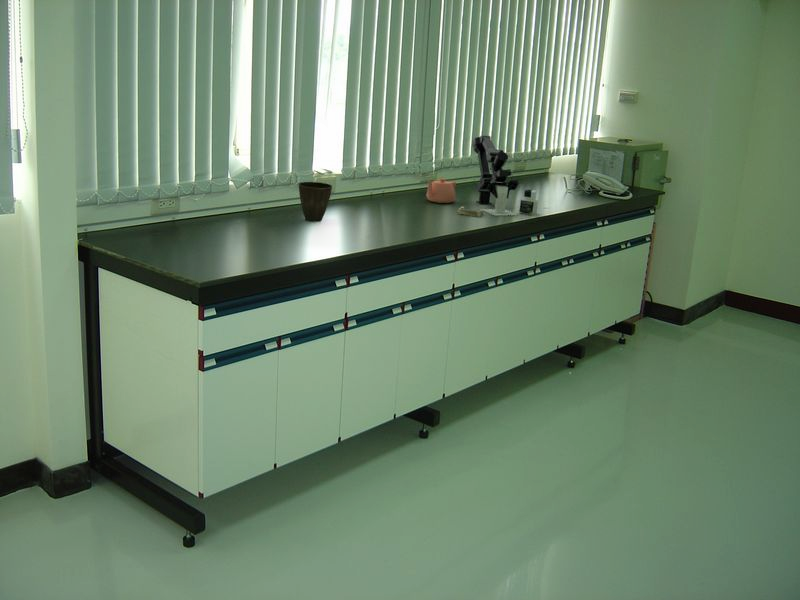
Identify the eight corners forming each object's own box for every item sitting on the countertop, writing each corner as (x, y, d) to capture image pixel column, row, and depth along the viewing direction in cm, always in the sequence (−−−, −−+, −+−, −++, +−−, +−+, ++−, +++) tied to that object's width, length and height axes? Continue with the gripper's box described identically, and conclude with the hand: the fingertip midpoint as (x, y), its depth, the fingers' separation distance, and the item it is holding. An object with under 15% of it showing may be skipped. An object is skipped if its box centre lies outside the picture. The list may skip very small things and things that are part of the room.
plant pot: (328, 217, 391) (330, 182, 386) (331, 224, 377) (333, 188, 372) (296, 215, 388) (297, 181, 384) (298, 223, 374) (299, 187, 370)
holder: (461, 211, 428) (461, 206, 428) (482, 214, 426) (483, 209, 425) (457, 214, 421) (458, 209, 420) (479, 216, 418) (479, 211, 418)
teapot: (434, 205, 438) (436, 182, 435) (414, 200, 449) (416, 177, 445) (464, 202, 453) (466, 179, 449) (443, 197, 463) (445, 175, 460)
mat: (481, 210, 436) (481, 209, 435) (505, 210, 441) (505, 209, 441) (494, 215, 423) (494, 215, 423) (518, 215, 429) (518, 214, 429)
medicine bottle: (519, 213, 436) (521, 189, 432) (523, 211, 442) (526, 188, 438) (532, 215, 433) (535, 191, 429) (536, 213, 439) (539, 190, 435)
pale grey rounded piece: (493, 209, 434) (495, 185, 430) (503, 209, 435) (505, 186, 431) (498, 212, 426) (500, 188, 423) (508, 212, 428) (511, 188, 424)
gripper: (484, 162, 426) (489, 188, 419) (519, 163, 431) (525, 189, 424) (478, 175, 436) (482, 200, 429) (512, 176, 440) (517, 201, 433)
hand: (502, 198), depth 429 cm, fingers closed on pale grey rounded piece, 5 cm apart
